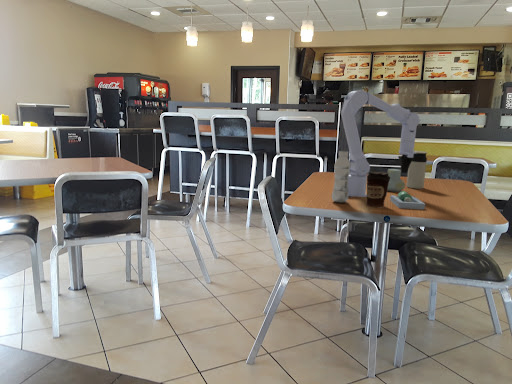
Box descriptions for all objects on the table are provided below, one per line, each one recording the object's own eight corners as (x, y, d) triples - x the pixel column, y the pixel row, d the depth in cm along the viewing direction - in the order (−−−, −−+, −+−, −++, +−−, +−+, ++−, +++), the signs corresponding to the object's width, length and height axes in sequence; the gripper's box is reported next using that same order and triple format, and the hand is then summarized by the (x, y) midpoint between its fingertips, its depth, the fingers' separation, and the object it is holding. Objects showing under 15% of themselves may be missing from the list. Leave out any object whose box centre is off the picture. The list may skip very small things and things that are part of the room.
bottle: (397, 202, 161) (402, 207, 152) (396, 191, 160) (401, 196, 151) (409, 201, 160) (414, 205, 151) (408, 190, 159) (413, 194, 151)
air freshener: (393, 188, 193) (395, 168, 191) (407, 191, 186) (409, 170, 185) (377, 190, 188) (379, 169, 186) (391, 193, 181) (393, 171, 179)
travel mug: (426, 189, 195) (430, 152, 191) (409, 188, 195) (413, 152, 191) (419, 186, 202) (423, 151, 199) (404, 185, 202) (407, 150, 199)
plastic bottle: (348, 201, 158) (353, 151, 155) (346, 204, 152) (351, 152, 148) (332, 199, 161) (336, 150, 157) (330, 203, 154) (334, 151, 150)
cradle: (398, 208, 149) (399, 202, 149) (390, 200, 163) (390, 195, 162) (424, 210, 148) (425, 203, 148) (413, 202, 162) (414, 196, 162)
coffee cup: (383, 210, 146) (387, 175, 143) (361, 206, 150) (364, 172, 148) (389, 206, 153) (392, 172, 151) (368, 202, 157) (371, 170, 155)
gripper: (422, 142, 162) (418, 175, 165) (412, 140, 176) (409, 170, 179) (404, 141, 163) (401, 174, 165) (396, 139, 177) (392, 170, 180)
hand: (404, 172), depth 172 cm, fingers closed
